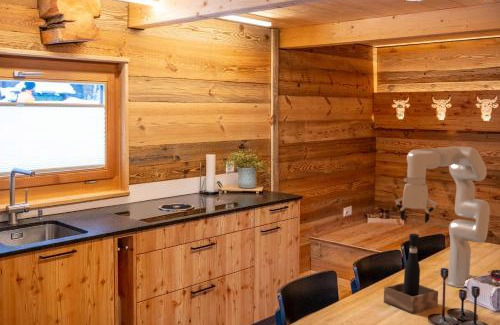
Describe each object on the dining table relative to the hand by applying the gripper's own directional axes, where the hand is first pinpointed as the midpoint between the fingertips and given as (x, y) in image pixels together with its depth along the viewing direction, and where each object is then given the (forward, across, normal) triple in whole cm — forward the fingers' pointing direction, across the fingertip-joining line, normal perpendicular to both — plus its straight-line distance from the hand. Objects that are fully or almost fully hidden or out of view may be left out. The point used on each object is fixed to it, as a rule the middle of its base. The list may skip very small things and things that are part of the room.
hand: (414, 220), depth 247 cm
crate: (+37, 0, -1) cm, 37 cm away
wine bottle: (+36, 0, -1) cm, 36 cm away
